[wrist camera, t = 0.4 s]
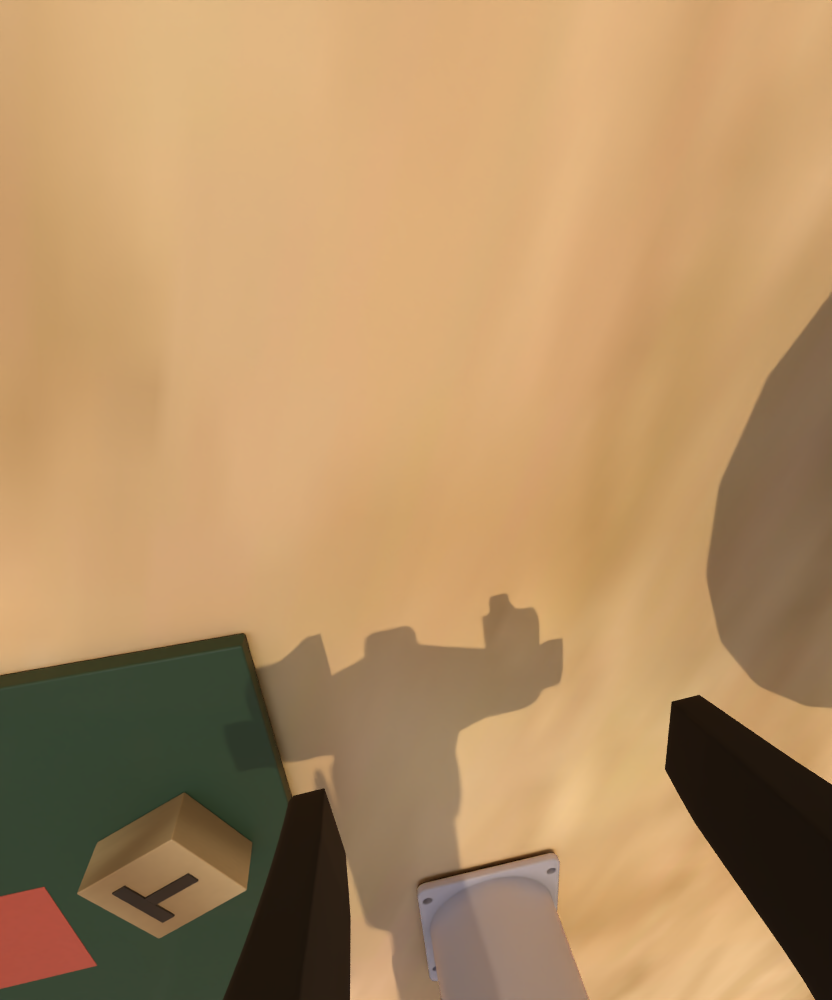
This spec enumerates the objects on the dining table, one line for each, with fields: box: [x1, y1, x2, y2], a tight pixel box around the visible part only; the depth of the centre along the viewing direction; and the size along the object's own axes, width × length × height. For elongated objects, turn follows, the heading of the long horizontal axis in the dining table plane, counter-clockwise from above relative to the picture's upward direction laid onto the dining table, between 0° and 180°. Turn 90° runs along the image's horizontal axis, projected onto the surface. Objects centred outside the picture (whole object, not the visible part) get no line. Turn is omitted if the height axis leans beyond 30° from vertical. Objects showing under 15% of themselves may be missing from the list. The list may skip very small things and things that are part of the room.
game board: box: [0, 634, 292, 1000], centre depth 23 cm, size 26×26×1 cm
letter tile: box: [77, 792, 252, 938], centre depth 21 cm, size 4×4×2 cm
